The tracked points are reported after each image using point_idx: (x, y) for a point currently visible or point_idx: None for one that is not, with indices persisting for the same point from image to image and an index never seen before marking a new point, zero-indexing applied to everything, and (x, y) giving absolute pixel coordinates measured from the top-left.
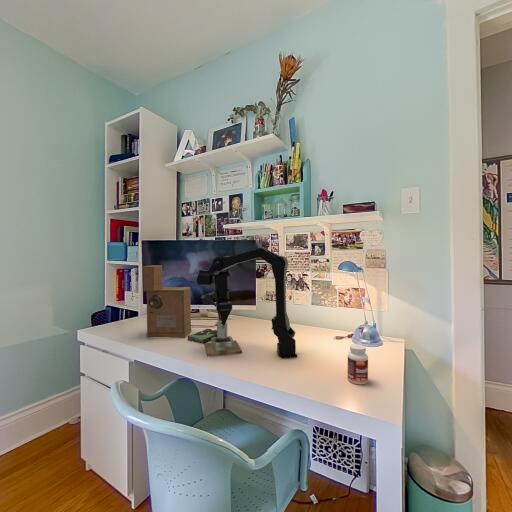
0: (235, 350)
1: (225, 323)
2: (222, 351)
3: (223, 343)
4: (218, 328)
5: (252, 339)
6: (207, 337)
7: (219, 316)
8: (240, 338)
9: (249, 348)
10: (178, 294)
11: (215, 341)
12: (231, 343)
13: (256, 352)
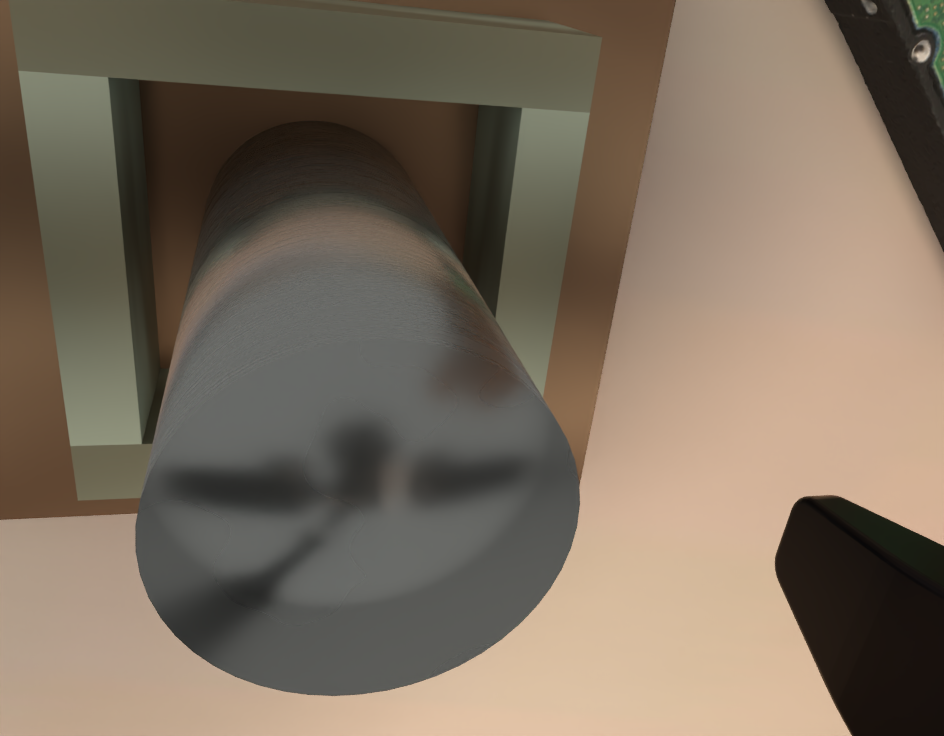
0: (26, 424)
1: (318, 642)
2: (4, 178)
3: (46, 265)
4: (228, 310)
5: (590, 678)
6: (912, 3)
7: (902, 604)
8: (711, 549)
9: None
10: None
11: (496, 123)
12: (72, 430)
13: (7, 677)
